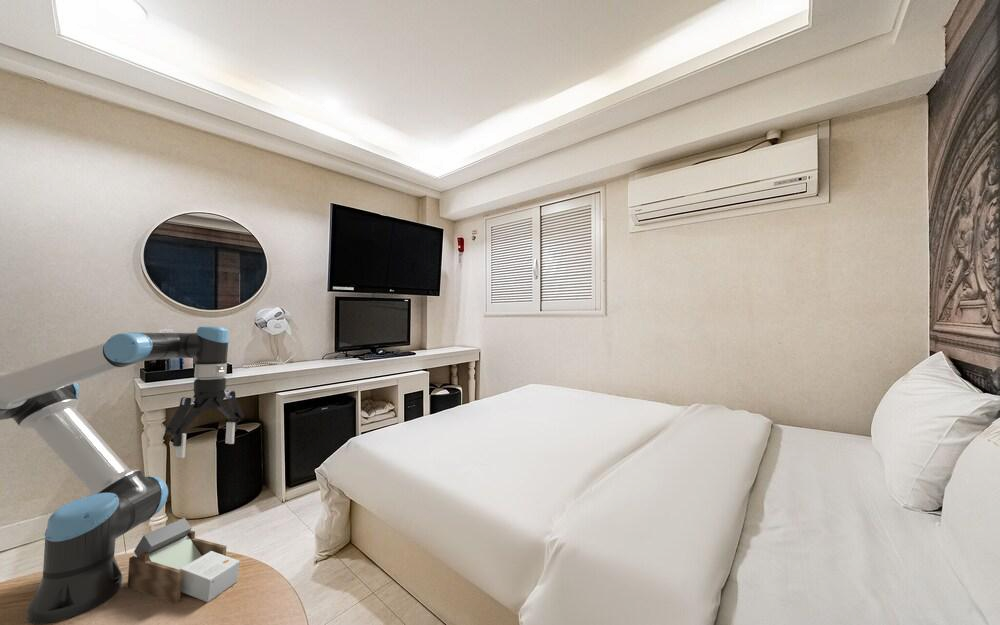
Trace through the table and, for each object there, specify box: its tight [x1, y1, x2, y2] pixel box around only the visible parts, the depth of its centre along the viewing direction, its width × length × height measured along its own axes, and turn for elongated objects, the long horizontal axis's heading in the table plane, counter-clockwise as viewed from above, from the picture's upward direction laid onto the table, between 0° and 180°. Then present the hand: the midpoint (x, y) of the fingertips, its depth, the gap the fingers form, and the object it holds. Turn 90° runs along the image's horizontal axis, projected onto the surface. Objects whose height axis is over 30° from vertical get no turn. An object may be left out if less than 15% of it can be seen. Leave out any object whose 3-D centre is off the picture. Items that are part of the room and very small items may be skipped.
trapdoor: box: [133, 517, 202, 570], centre depth 96 cm, size 18×9×6 cm
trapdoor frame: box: [126, 529, 227, 604], centre depth 96 cm, size 19×12×9 cm, turn 73°
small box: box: [180, 551, 241, 603], centre depth 93 cm, size 8×6×10 cm
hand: (206, 450), depth 106 cm, fingers open, 13 cm apart
